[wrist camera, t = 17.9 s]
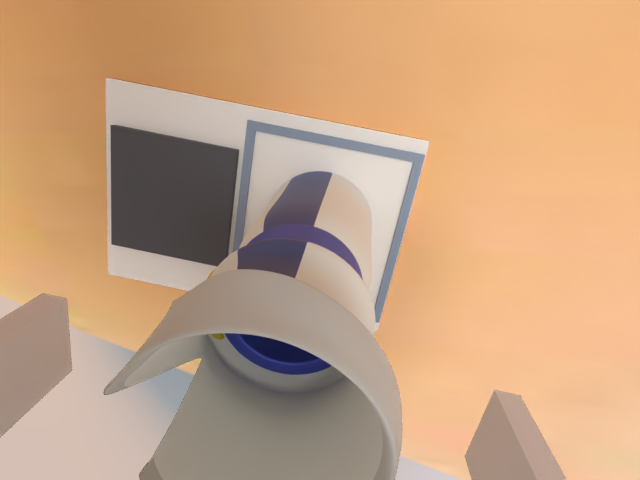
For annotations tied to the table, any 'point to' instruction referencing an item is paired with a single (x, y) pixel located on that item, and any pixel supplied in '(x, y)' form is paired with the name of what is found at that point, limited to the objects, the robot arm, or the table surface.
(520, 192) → the table surface
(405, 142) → the stamp station
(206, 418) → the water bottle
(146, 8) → the table surface
